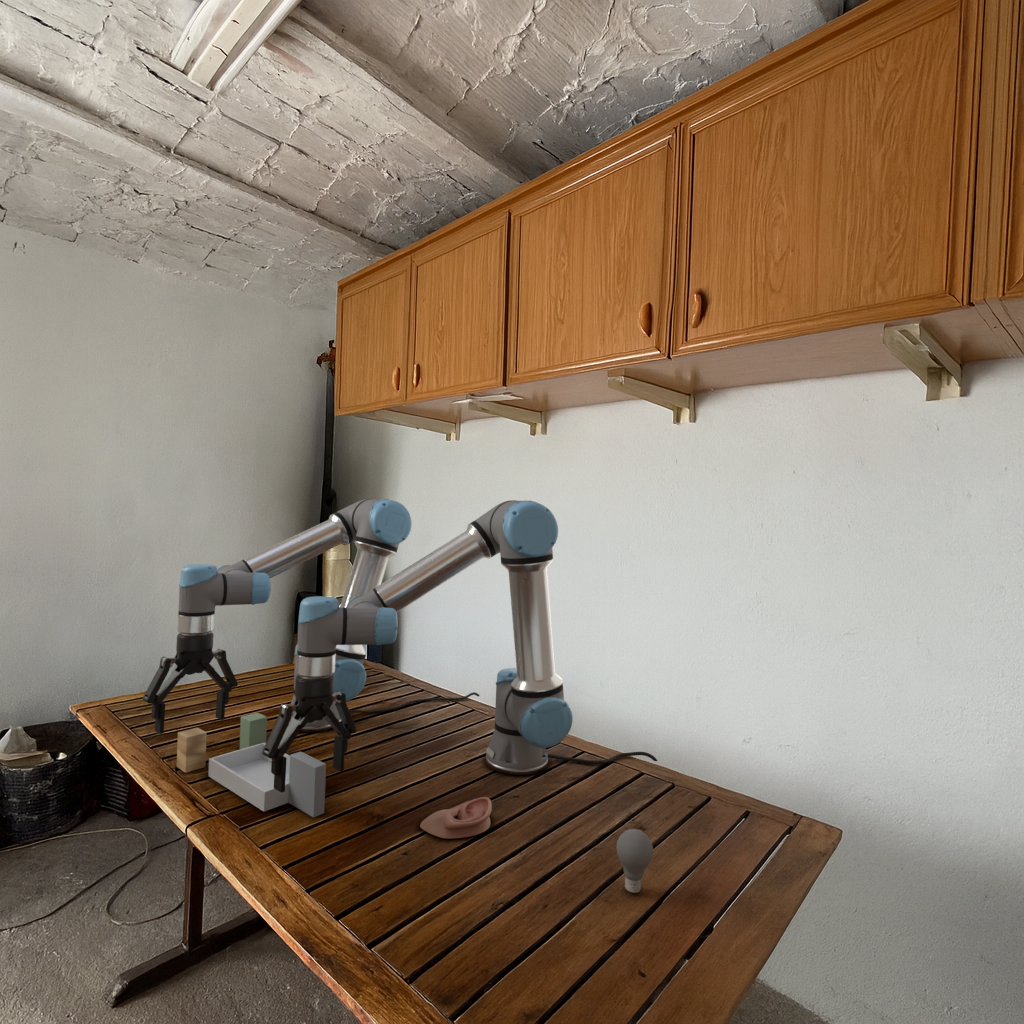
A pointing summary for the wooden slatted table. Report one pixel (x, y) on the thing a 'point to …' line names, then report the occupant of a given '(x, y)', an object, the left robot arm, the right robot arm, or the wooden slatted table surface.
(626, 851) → the light bulb
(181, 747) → the birch block
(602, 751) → the wooden slatted table surface
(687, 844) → the wooden slatted table surface
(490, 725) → the wooden slatted table surface
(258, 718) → the sage block
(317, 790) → the tray
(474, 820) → the anatomical model
